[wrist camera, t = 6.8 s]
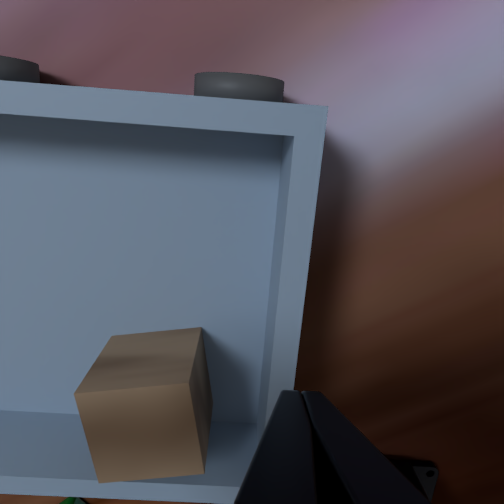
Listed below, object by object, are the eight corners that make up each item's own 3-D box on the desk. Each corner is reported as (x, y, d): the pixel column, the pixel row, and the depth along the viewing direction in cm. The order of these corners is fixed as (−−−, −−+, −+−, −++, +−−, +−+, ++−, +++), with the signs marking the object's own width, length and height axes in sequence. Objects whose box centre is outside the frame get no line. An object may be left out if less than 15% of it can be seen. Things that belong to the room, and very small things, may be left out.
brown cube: (213, 402, 21) (204, 474, 17) (129, 410, 21) (98, 483, 17) (201, 327, 20) (188, 383, 15) (111, 335, 20) (73, 393, 15)
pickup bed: (270, 434, 23) (277, 522, 18) (-6, 420, 23) (-81, 507, 18) (306, 89, 18) (332, 73, 12) (-58, 59, 17) (-192, 29, 12)
